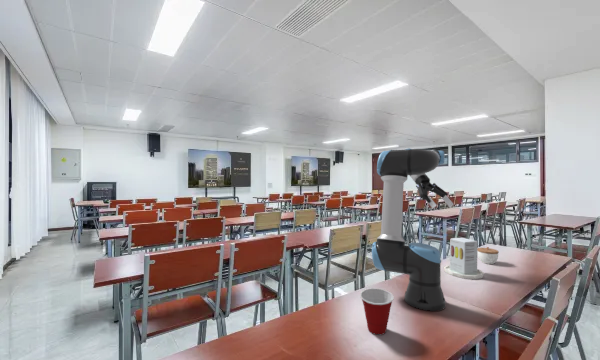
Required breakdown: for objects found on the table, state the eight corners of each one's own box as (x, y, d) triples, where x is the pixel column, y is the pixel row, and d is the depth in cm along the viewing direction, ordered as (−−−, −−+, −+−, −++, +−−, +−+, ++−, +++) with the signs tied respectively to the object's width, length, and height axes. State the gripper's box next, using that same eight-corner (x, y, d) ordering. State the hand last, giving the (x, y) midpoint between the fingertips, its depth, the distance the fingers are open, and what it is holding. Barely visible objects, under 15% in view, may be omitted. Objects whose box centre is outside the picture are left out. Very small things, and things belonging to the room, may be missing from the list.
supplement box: (449, 268, 150) (449, 238, 150) (461, 267, 153) (461, 237, 153) (464, 274, 141) (464, 242, 141) (477, 272, 144) (478, 240, 144)
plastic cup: (353, 330, 91) (353, 294, 91) (370, 318, 99) (370, 285, 99) (383, 344, 84) (383, 304, 84) (399, 330, 91) (399, 294, 91)
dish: (463, 280, 136) (464, 277, 136) (436, 269, 153) (436, 266, 153) (492, 277, 141) (492, 274, 141) (462, 266, 158) (462, 263, 158)
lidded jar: (498, 266, 158) (498, 250, 158) (476, 263, 165) (476, 247, 165) (498, 262, 167) (498, 246, 167) (477, 259, 173) (477, 244, 173)
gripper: (431, 182, 169) (453, 209, 156) (401, 183, 159) (422, 211, 145) (438, 174, 165) (463, 201, 151) (408, 173, 154) (431, 202, 140)
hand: (443, 206), depth 148 cm, fingers open, 13 cm apart
